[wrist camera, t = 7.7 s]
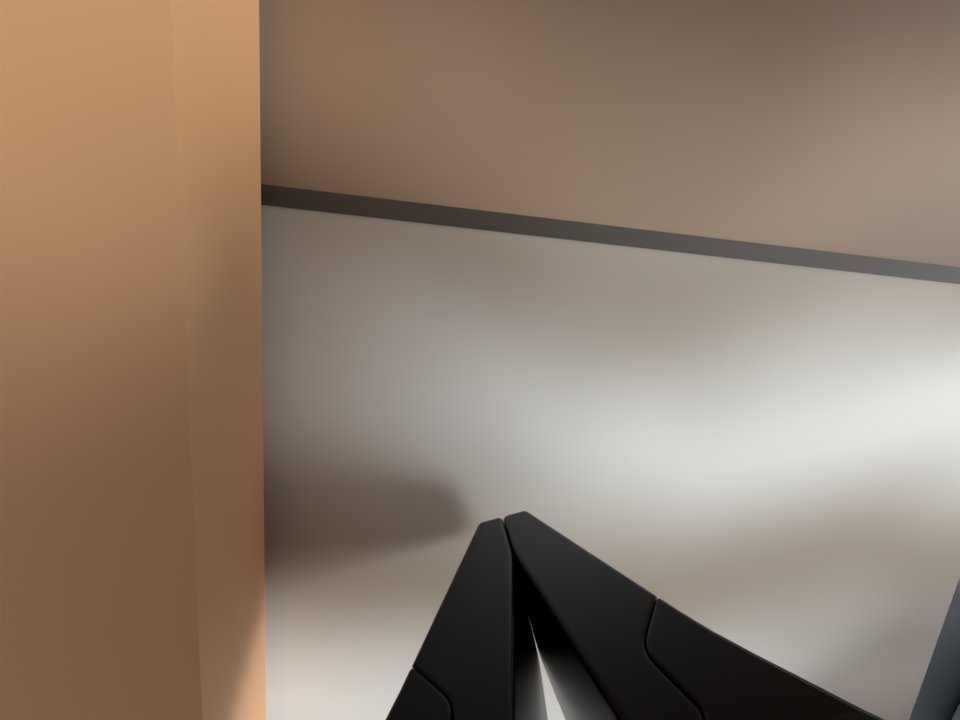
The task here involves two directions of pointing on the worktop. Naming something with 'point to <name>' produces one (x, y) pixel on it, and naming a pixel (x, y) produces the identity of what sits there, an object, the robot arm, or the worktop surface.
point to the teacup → (957, 714)
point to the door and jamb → (611, 322)
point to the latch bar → (131, 361)
